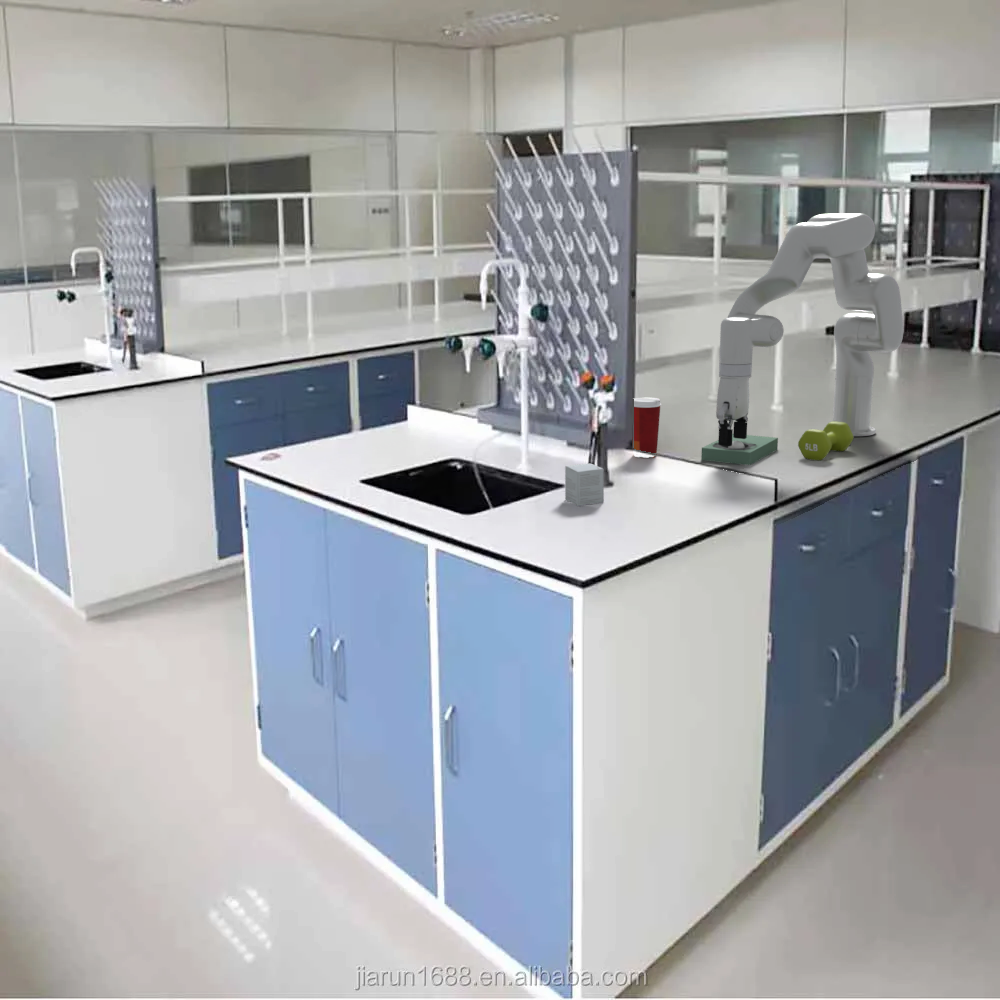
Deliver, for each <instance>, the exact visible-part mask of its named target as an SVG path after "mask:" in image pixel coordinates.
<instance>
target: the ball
mask: <svg viewBox="0 0 1000 1000" xmlns="http://www.w3.org/2000/svg"><path fill="white" fill-rule="evenodd" d="M728 448H745V446H744V444H743V443H742V442H740V441H733V442H732V446H728Z"/></svg>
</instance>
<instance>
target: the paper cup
mask: <svg viewBox="0 0 1000 1000" xmlns="http://www.w3.org/2000/svg"><path fill="white" fill-rule="evenodd" d="M633 399H634V449H636V450H641V451H646V452H651V453H657V451H658V442H659V441H658V439H659V429H660V428H659V427H660V417H661V406H663V404H662V403H661V399H660V398H658V397H645V396H644V397H634V398H633Z"/></svg>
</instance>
